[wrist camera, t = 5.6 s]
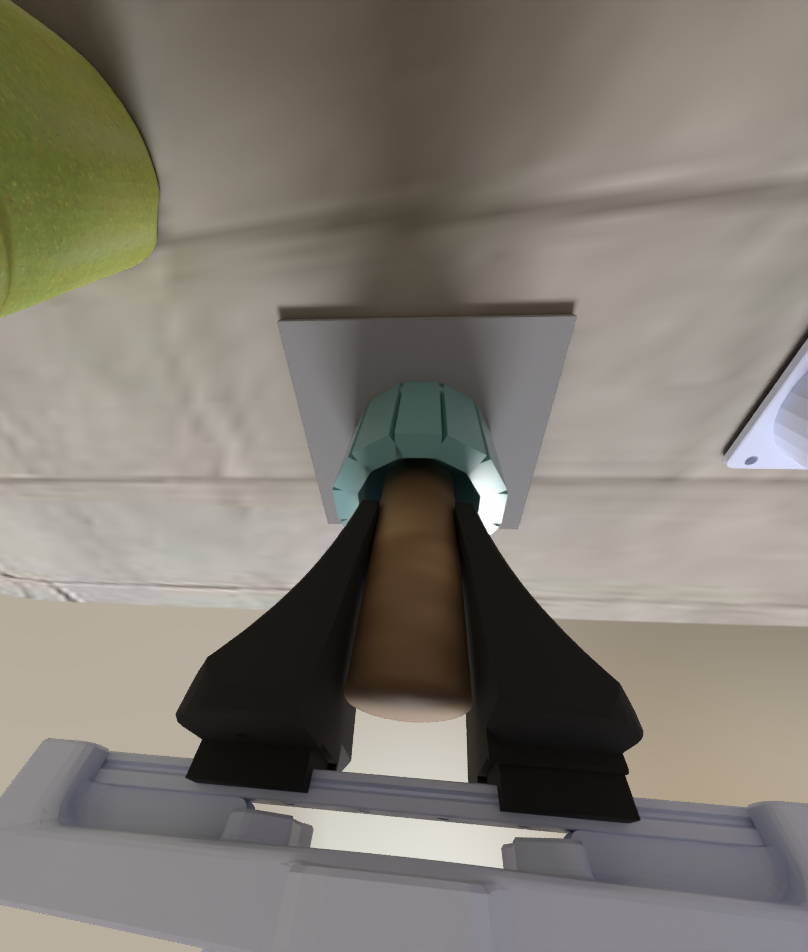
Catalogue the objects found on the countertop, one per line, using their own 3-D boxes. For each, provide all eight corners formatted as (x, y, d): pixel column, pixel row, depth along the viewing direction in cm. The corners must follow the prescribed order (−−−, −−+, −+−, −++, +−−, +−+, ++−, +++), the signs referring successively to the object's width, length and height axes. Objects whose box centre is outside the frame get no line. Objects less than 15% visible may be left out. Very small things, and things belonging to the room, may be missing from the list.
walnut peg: (455, 457, 13) (479, 680, 6) (451, 511, 15) (466, 726, 8) (382, 456, 13) (334, 670, 7) (386, 509, 15) (352, 717, 8)
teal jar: (498, 381, 14) (521, 434, 10) (480, 496, 18) (492, 563, 15) (347, 382, 15) (319, 432, 11) (363, 494, 19) (347, 557, 15)
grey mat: (573, 313, 13) (576, 316, 12) (516, 524, 20) (517, 529, 20) (280, 319, 13) (277, 321, 13) (329, 519, 21) (328, 523, 20)
